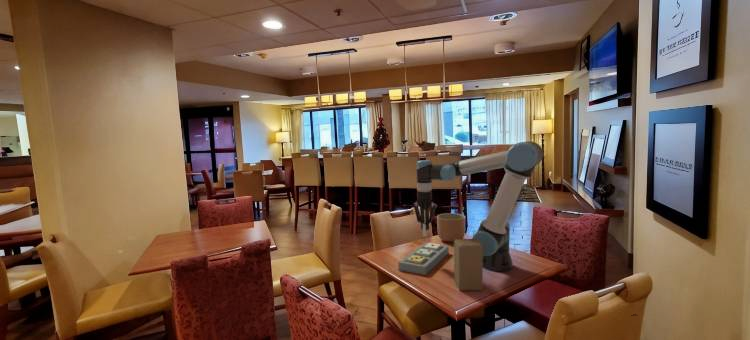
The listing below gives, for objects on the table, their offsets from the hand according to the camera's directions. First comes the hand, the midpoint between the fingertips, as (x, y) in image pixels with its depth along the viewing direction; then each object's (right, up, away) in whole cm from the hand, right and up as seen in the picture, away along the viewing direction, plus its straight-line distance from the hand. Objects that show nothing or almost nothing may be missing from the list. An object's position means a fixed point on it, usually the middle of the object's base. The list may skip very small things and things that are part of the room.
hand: (425, 235), depth 186 cm
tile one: (+6, -11, +11) cm, 17 cm away
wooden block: (+14, -17, -29) cm, 37 cm away
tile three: (-5, -14, -8) cm, 17 cm away
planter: (+21, -10, +36) cm, 42 cm away
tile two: (0, -12, +2) cm, 13 cm away
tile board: (0, -14, +2) cm, 14 cm away
